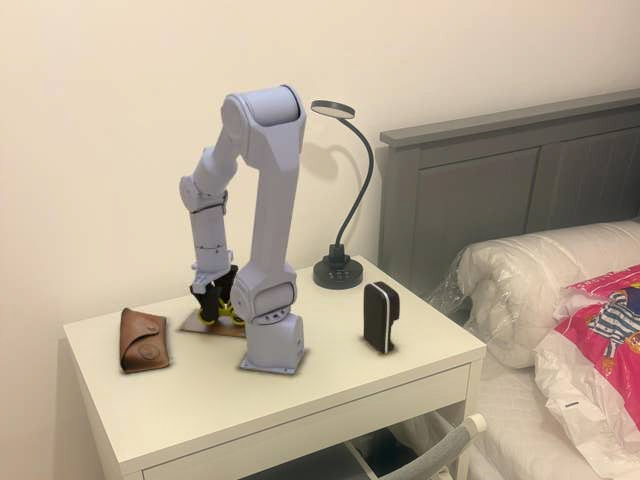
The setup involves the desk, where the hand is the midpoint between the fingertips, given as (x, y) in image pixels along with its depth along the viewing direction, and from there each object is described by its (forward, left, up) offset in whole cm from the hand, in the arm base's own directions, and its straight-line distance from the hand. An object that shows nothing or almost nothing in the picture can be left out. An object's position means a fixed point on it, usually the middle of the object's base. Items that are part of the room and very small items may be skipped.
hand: (218, 311), depth 122 cm
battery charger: (-31, +1, -3) cm, 31 cm away
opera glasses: (-1, 0, -2) cm, 2 cm away
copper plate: (0, 0, -3) cm, 3 cm away
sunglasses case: (+11, +10, -3) cm, 15 cm away
